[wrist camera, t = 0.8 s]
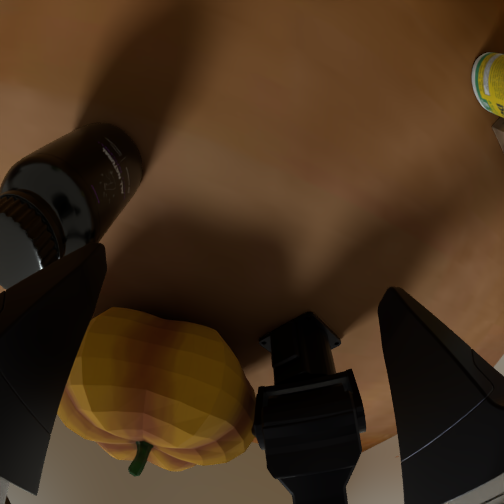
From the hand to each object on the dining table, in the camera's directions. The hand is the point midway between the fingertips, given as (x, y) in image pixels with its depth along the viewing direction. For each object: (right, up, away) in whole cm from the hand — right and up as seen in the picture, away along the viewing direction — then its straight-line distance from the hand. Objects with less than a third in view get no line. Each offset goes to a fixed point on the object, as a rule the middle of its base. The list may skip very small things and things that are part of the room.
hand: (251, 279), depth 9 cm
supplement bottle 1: (-11, +7, +11) cm, 17 cm away
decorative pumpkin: (-10, -10, +24) cm, 28 cm away
